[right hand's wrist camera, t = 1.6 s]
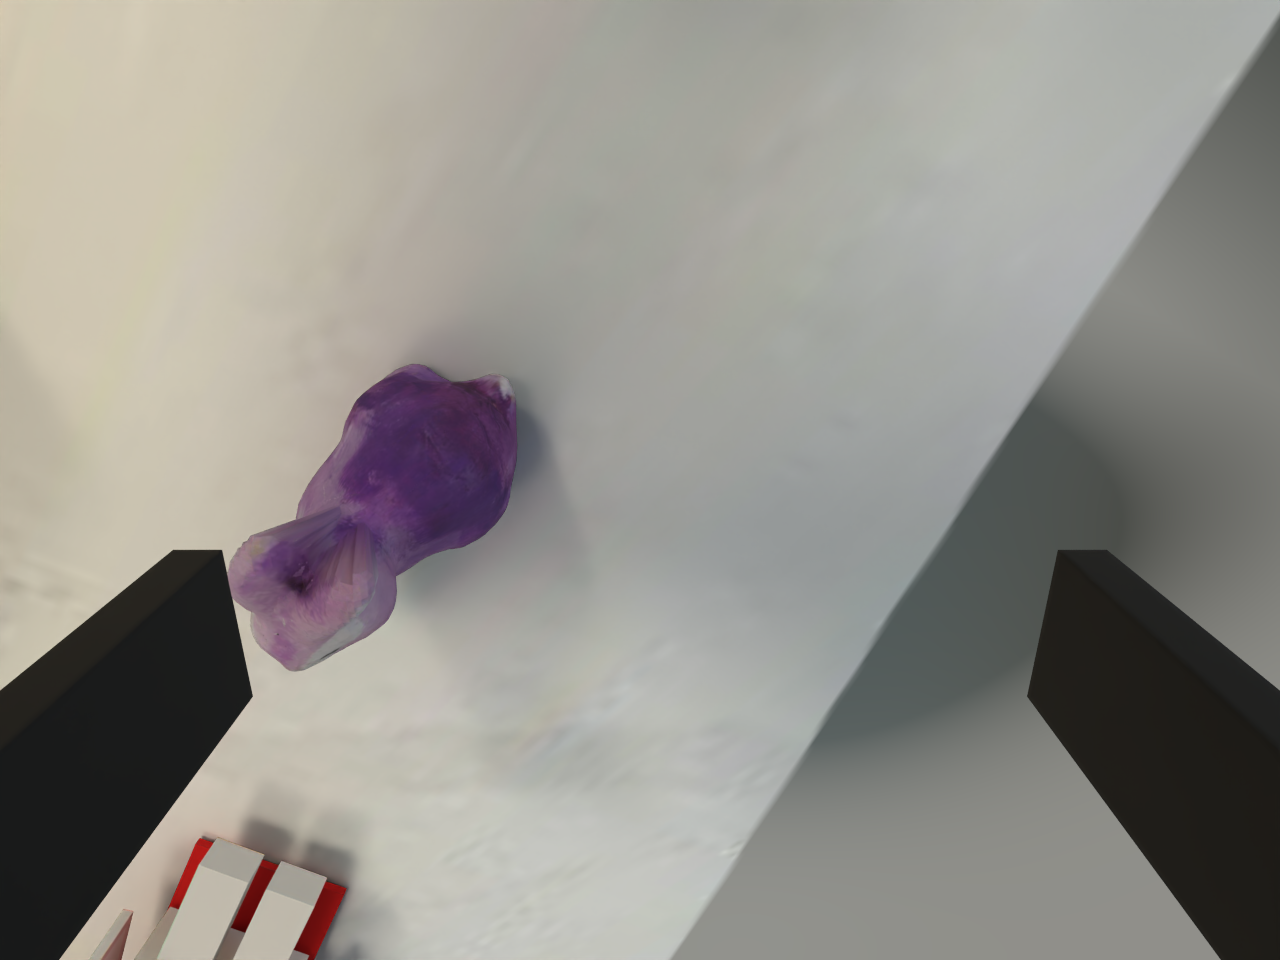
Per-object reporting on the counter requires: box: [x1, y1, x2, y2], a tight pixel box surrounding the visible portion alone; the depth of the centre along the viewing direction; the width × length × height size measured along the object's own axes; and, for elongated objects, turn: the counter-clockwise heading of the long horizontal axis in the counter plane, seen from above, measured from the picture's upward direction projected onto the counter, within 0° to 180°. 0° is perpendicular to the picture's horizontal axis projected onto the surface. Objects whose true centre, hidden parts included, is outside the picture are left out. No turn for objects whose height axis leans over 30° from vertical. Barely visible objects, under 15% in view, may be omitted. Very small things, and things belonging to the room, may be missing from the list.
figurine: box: [227, 364, 517, 671], centre depth 32 cm, size 9×10×15 cm
